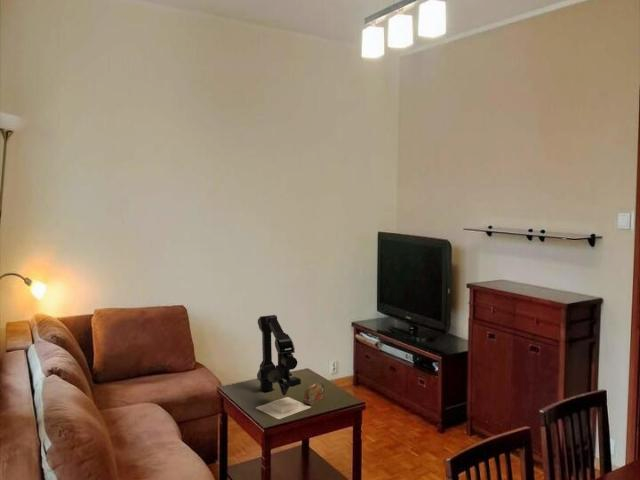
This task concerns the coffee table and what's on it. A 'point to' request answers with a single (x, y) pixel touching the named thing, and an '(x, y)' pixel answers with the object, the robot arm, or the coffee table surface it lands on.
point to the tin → (314, 393)
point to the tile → (285, 405)
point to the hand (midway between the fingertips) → (284, 395)
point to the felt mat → (268, 409)
